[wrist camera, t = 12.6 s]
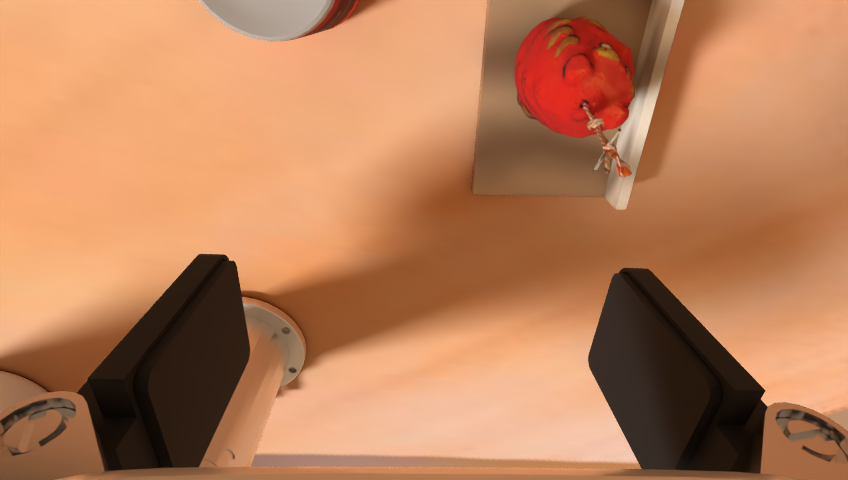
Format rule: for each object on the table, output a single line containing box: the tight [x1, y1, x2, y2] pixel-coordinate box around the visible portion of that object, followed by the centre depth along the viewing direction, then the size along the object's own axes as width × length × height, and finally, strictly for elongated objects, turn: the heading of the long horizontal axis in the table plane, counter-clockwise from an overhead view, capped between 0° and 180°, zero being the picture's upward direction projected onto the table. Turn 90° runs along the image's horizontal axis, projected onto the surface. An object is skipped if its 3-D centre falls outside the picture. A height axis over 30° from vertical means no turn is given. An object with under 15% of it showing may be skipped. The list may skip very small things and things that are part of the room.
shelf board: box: [471, 0, 684, 210], centre depth 31 cm, size 20×12×4 cm, turn 178°
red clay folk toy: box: [514, 16, 635, 178], centre depth 25 cm, size 8×7×15 cm
